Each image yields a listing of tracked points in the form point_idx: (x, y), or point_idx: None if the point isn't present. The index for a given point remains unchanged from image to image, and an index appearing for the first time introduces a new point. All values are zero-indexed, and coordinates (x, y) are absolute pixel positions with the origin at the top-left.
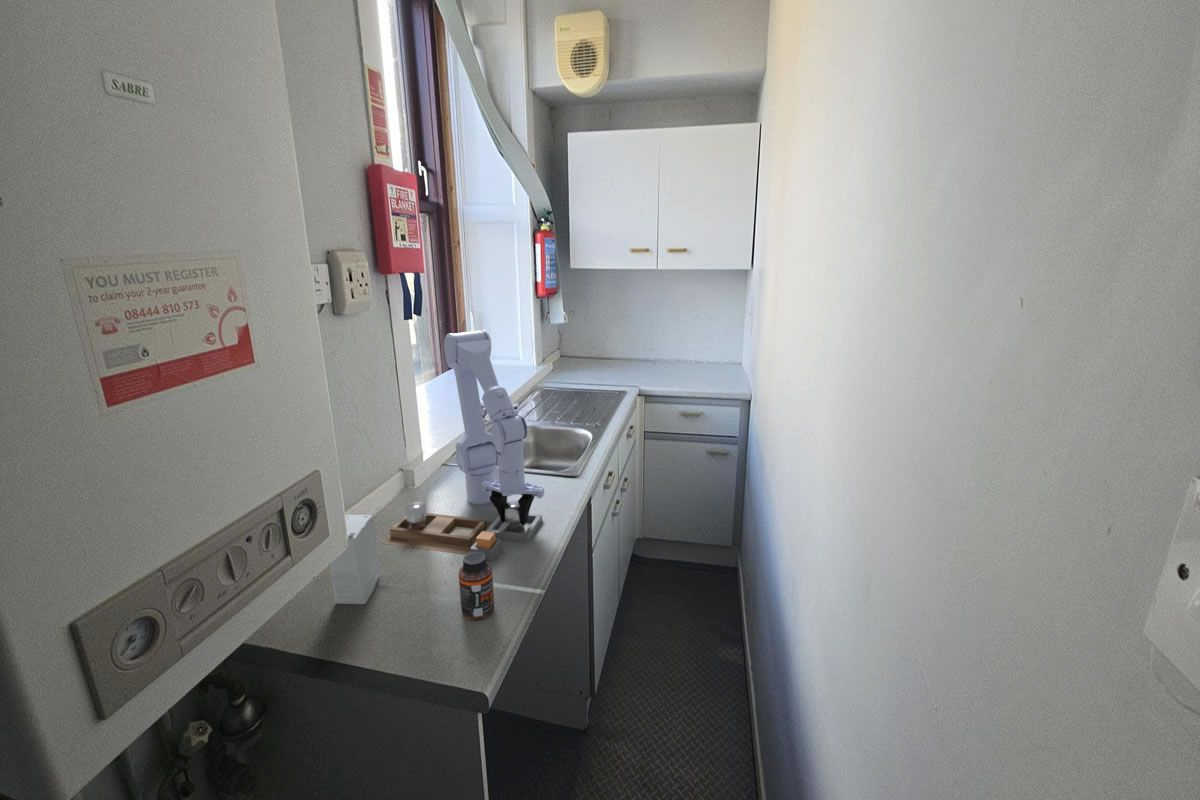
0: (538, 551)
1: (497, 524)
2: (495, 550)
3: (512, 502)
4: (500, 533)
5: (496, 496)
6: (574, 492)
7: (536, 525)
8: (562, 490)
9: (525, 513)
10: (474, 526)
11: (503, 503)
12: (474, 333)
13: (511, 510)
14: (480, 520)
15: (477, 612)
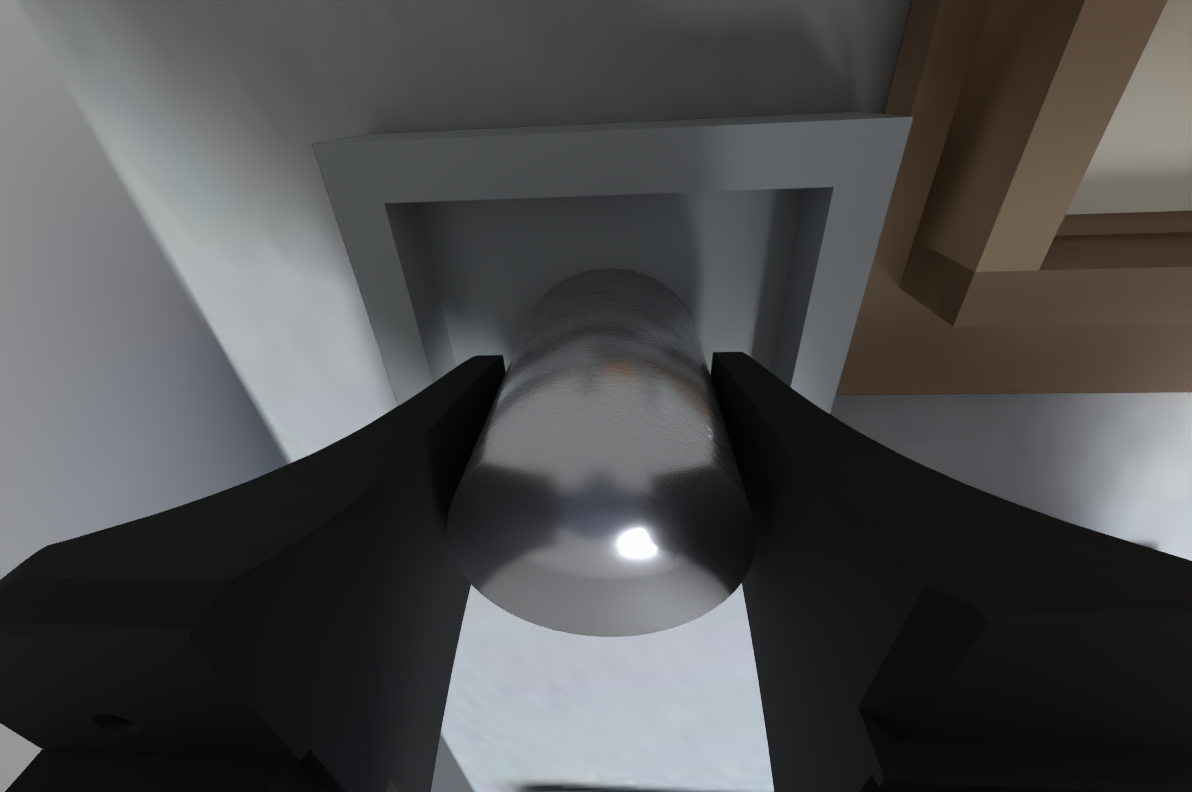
0: (178, 31)
1: (789, 346)
2: None
3: (650, 605)
4: (682, 127)
5: (1026, 717)
6: (467, 719)
7: None
8: (533, 725)
9: (359, 432)
10: (1069, 244)
11: (775, 563)
12: None
13: (561, 426)
14: (1036, 299)
15: None
